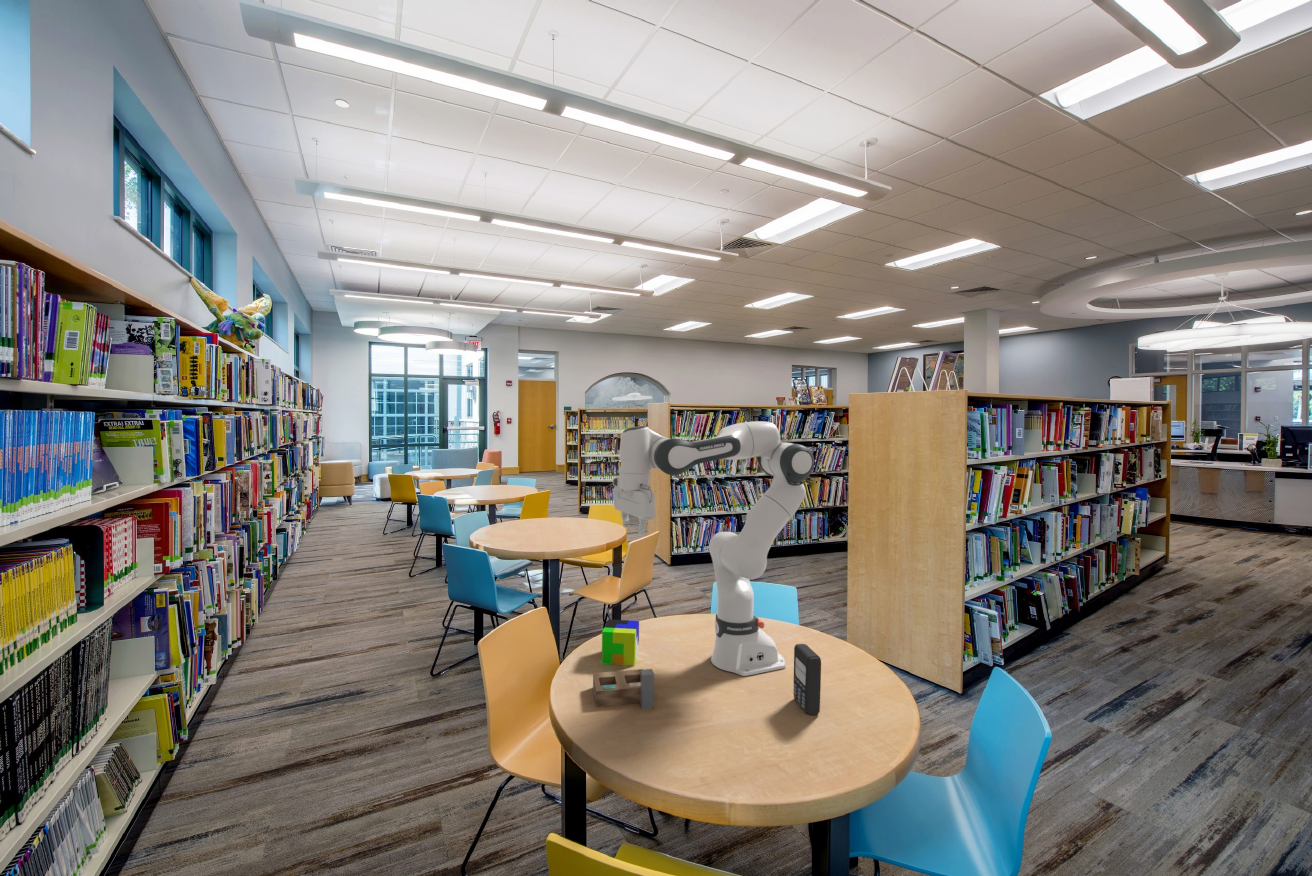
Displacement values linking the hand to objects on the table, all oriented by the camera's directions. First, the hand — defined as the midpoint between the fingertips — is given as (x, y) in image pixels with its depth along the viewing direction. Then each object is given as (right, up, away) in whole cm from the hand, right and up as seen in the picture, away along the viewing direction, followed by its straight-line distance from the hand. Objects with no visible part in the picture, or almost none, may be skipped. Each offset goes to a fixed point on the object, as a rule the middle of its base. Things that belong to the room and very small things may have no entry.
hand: (633, 530), depth 153 cm
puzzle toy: (-4, -42, +13) cm, 44 cm away
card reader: (+46, -44, -14) cm, 65 cm away
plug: (+4, -43, -15) cm, 46 cm away
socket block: (-3, -43, -10) cm, 44 cm away
